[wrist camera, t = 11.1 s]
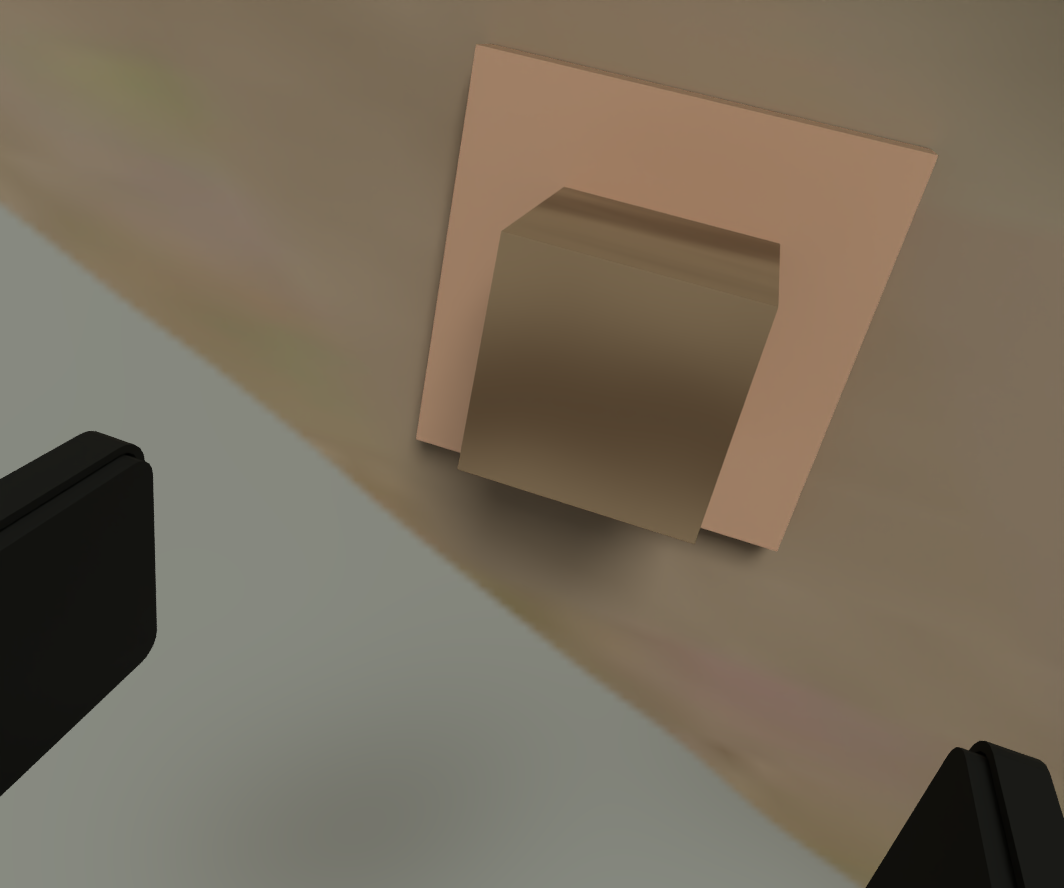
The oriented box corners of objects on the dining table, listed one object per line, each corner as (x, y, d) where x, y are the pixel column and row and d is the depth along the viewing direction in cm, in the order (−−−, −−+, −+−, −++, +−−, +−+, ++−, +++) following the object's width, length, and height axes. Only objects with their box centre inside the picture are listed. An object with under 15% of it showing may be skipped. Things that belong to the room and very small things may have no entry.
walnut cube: (564, 186, 22) (501, 230, 17) (780, 243, 21) (778, 306, 16) (522, 382, 24) (457, 469, 20) (713, 439, 24) (694, 544, 19)
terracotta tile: (490, 43, 22) (475, 44, 21) (930, 148, 20) (938, 155, 19) (430, 423, 27) (415, 439, 26) (777, 530, 26) (777, 551, 24)
